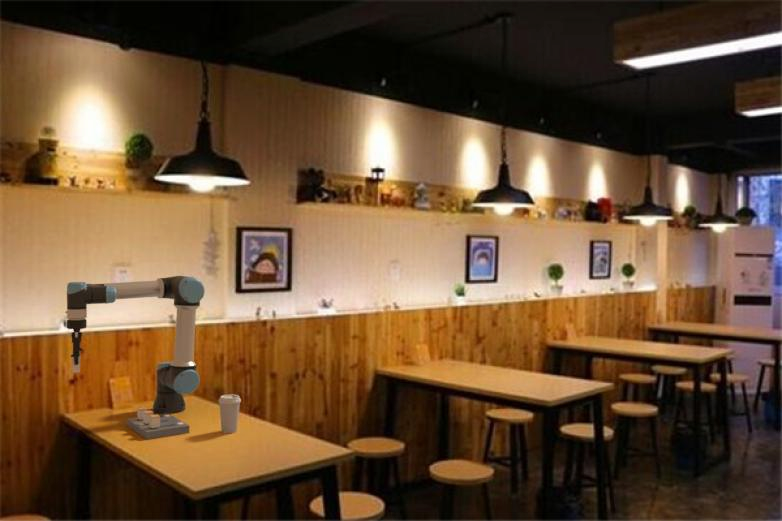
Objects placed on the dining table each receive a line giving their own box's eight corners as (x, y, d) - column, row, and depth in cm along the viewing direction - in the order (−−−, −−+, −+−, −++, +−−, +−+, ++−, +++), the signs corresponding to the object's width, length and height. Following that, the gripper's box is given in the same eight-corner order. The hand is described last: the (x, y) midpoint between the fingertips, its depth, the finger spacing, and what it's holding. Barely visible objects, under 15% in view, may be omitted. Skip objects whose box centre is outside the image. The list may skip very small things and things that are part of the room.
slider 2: (157, 425, 291) (157, 414, 290) (160, 427, 288) (160, 416, 288) (149, 426, 289) (149, 415, 288) (152, 428, 286) (152, 417, 286)
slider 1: (144, 417, 303) (144, 406, 303) (147, 418, 300) (147, 408, 300) (137, 418, 301) (137, 407, 301) (139, 419, 298) (139, 409, 298)
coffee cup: (237, 434, 291) (238, 399, 291) (215, 433, 291) (215, 398, 291) (242, 428, 301) (243, 394, 300) (221, 427, 301) (221, 393, 300)
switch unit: (167, 419, 313) (167, 412, 313) (189, 432, 292) (189, 425, 292) (126, 425, 302) (126, 418, 302) (146, 439, 281) (146, 431, 281)
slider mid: (150, 421, 297) (150, 410, 297) (153, 422, 294) (153, 412, 294) (143, 422, 295) (143, 411, 295) (145, 423, 292) (146, 413, 292)
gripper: (67, 315, 298) (67, 364, 298) (65, 322, 275) (65, 375, 275) (86, 315, 301) (86, 363, 301) (86, 322, 278) (86, 374, 278)
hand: (76, 369), depth 288 cm, fingers open, 13 cm apart
